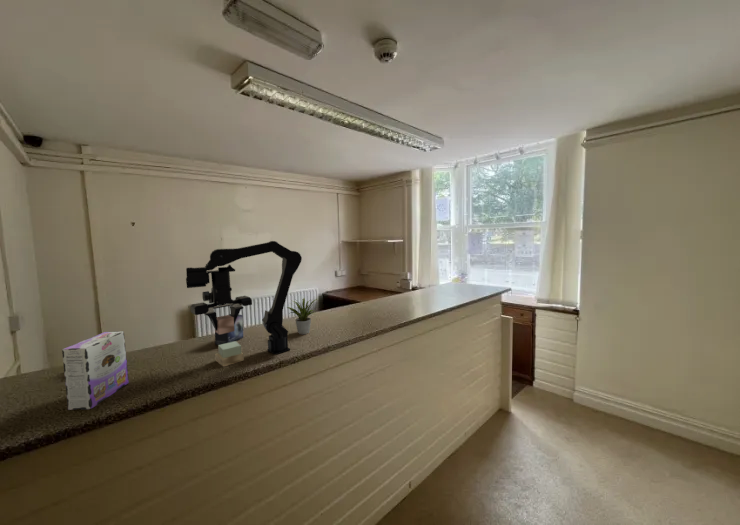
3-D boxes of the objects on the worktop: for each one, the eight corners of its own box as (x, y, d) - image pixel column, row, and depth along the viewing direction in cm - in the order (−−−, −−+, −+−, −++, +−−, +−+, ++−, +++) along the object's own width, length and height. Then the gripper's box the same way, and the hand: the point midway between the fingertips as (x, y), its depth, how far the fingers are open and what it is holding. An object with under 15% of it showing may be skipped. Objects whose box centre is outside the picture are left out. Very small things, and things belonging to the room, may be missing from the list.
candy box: (109, 384, 90) (104, 331, 88) (129, 383, 90) (125, 330, 89) (66, 410, 76) (60, 348, 75) (91, 409, 76) (85, 347, 75)
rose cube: (229, 328, 109) (228, 314, 108) (234, 331, 105) (233, 317, 105) (214, 331, 105) (213, 317, 105) (219, 334, 102) (218, 320, 101)
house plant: (310, 325, 148) (310, 292, 146) (326, 331, 137) (325, 296, 136) (284, 331, 138) (282, 297, 137) (299, 339, 128) (297, 301, 126)
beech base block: (235, 356, 111) (235, 348, 111) (243, 361, 106) (243, 353, 106) (215, 362, 106) (215, 353, 106) (223, 367, 101) (222, 359, 101)
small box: (228, 346, 120) (227, 320, 119) (214, 345, 122) (213, 320, 121) (244, 337, 131) (243, 314, 130) (231, 336, 132) (230, 313, 131)
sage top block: (236, 348, 110) (235, 341, 110) (241, 353, 106) (241, 345, 105) (218, 353, 106) (218, 345, 106) (223, 358, 102) (222, 349, 101)
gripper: (239, 279, 116) (242, 318, 117) (184, 286, 103) (188, 330, 104) (251, 282, 108) (254, 324, 109) (193, 290, 95) (197, 337, 96)
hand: (224, 328), depth 105 cm, fingers closed on rose cube, 5 cm apart
